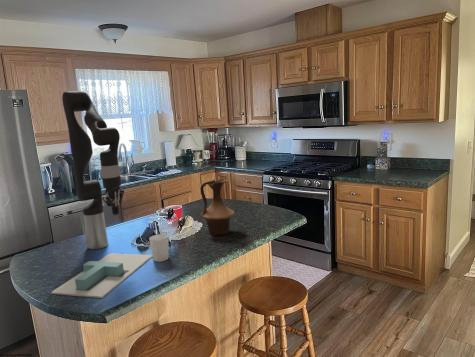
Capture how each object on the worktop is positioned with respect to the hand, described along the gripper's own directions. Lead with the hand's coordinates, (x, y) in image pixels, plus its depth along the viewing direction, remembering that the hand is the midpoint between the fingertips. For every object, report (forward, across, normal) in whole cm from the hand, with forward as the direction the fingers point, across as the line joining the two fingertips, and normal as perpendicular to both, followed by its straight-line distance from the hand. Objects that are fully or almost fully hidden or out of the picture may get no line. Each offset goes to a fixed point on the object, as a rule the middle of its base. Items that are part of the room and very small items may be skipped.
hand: (116, 214), depth 160 cm
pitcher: (+21, -39, +32) cm, 55 cm away
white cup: (+21, -3, +18) cm, 28 cm away
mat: (+21, +14, +2) cm, 25 cm away
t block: (+20, +21, +2) cm, 29 cm away
